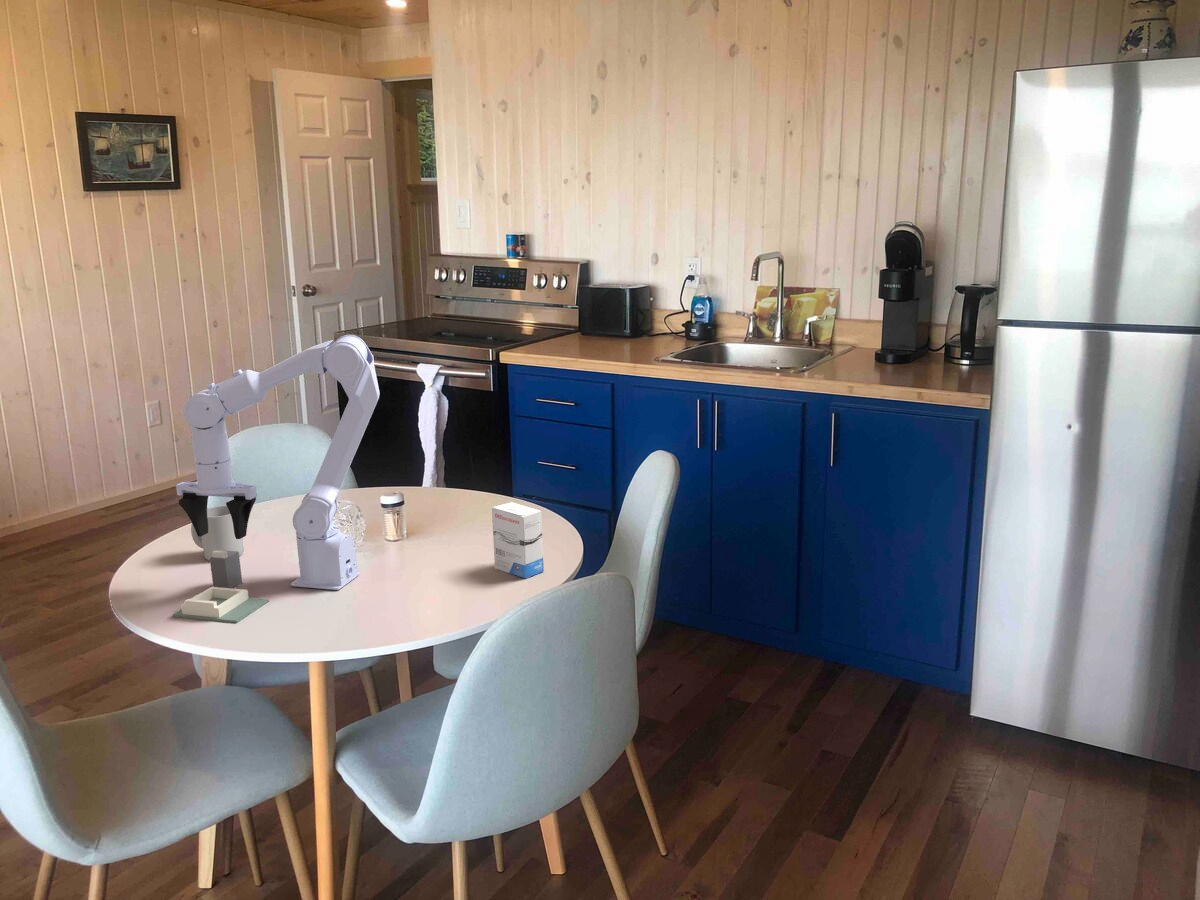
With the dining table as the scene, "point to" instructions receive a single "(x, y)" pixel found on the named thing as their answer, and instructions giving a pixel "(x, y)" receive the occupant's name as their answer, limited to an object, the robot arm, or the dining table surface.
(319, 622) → the dining table surface
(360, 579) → the dining table surface
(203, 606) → the board
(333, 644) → the dining table surface
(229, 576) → the plug
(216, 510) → the cup
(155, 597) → the dining table surface
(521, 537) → the ink box
